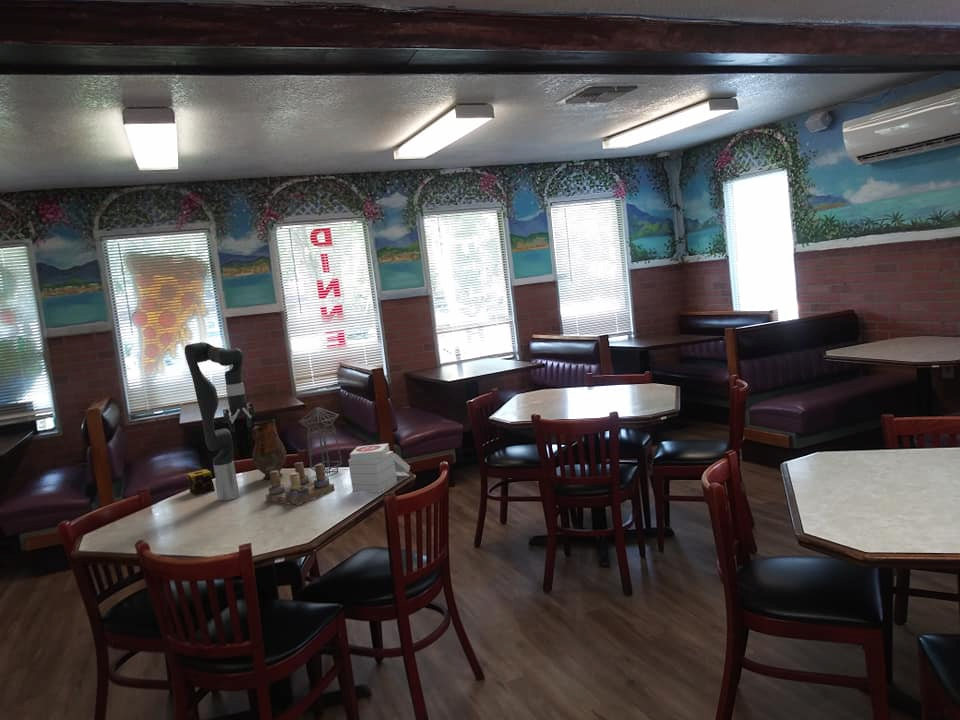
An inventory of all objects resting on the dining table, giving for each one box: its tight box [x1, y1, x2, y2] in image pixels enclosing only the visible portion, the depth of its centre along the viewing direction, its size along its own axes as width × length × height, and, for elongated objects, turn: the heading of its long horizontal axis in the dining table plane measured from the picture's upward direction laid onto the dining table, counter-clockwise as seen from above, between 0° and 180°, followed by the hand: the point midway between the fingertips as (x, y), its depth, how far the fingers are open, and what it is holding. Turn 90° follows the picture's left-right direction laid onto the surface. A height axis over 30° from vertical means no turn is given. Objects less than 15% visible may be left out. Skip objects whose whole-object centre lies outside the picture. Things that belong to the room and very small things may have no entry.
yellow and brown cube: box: [186, 468, 216, 497], centre depth 367 cm, size 10×10×10 cm
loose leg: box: [289, 472, 301, 491], centre depth 327 cm, size 4×4×10 cm
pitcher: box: [251, 418, 287, 481], centre depth 375 cm, size 17×21×30 cm
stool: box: [265, 461, 335, 506], centre depth 337 cm, size 22×22×13 cm
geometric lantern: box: [298, 406, 343, 477], centre depth 370 cm, size 16×16×35 cm
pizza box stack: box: [347, 443, 411, 493], centre depth 342 cm, size 19×30×18 cm, turn 155°
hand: (241, 428), depth 327 cm, fingers open, 8 cm apart
